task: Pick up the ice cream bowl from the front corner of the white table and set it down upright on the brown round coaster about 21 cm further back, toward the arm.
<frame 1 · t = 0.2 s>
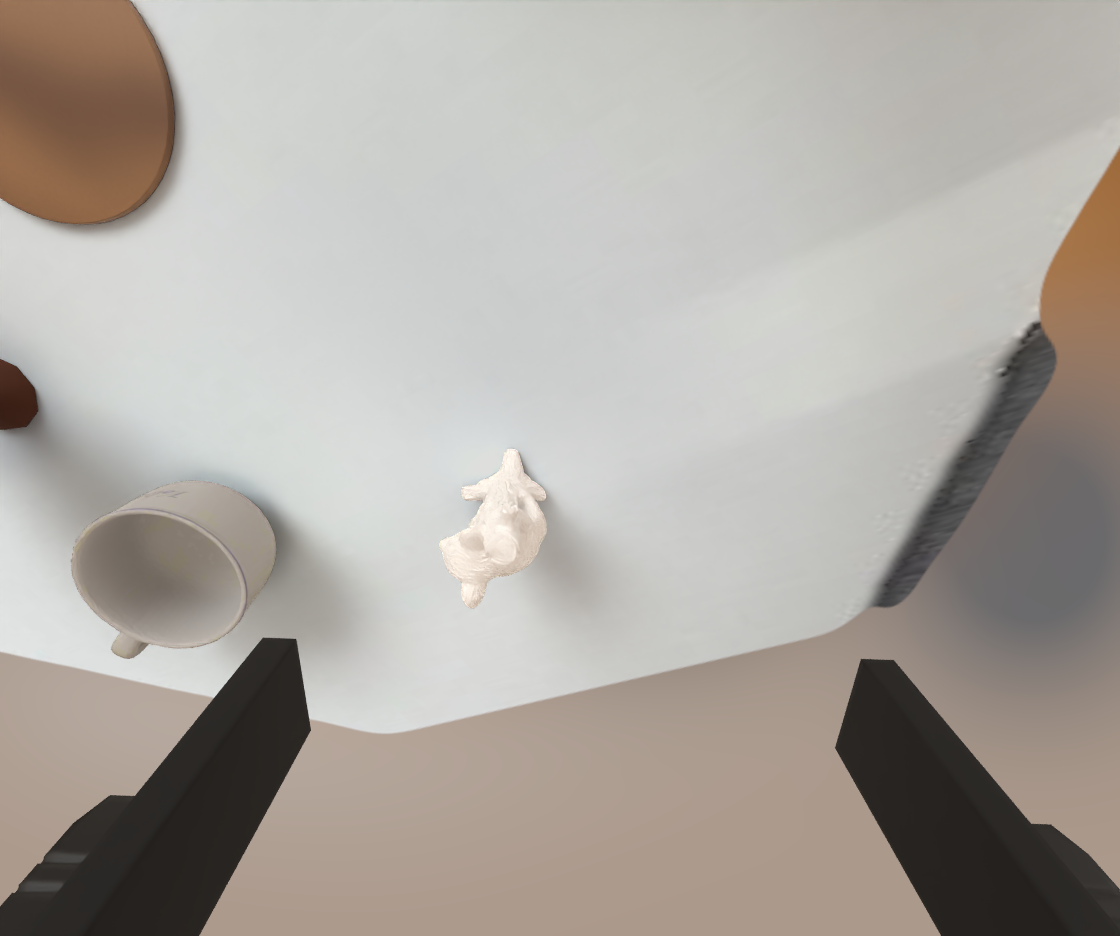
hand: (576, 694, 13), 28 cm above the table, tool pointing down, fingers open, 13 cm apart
brown round coaster: (46, 87, 32), on the table
teacup: (217, 540, 43), on the table
koala figurine: (509, 489, 41), on the table
ice cream bowl: (0, 392, 39), on the table
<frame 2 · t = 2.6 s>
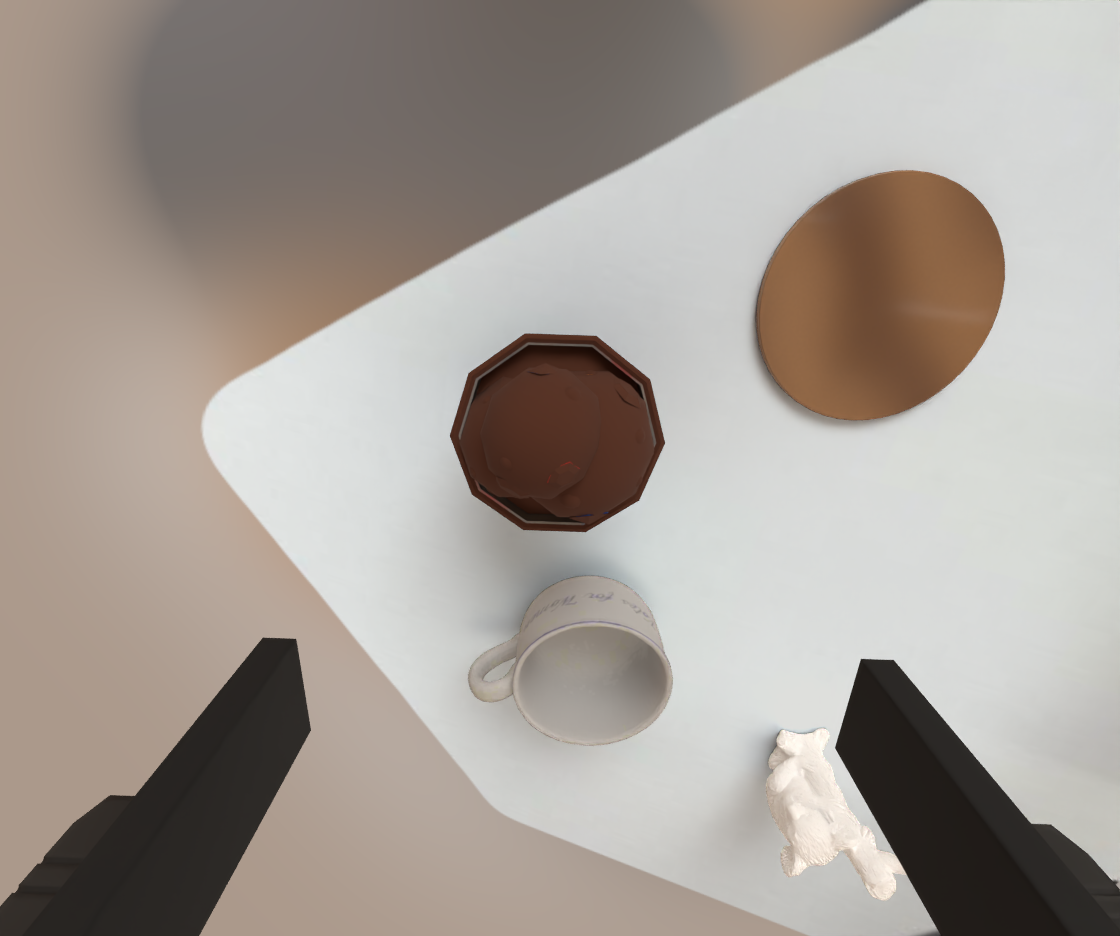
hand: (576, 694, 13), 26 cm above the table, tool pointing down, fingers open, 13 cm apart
brown round coaster: (874, 304, 34), on the table
teacup: (568, 614, 43), on the table
koala figurine: (790, 745, 48), on the table
ice cream bowl: (559, 397, 37), on the table
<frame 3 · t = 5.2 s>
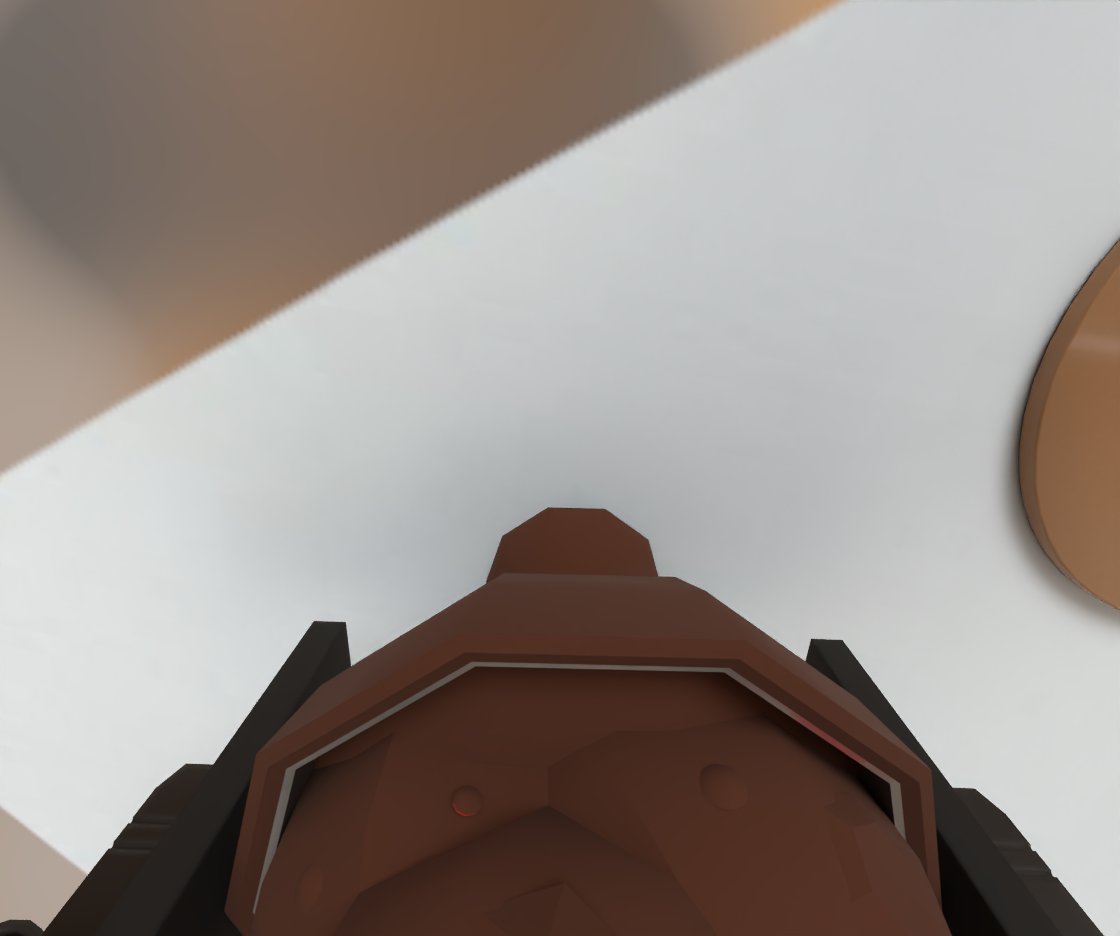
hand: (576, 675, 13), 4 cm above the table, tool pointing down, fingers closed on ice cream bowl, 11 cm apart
ice cream bowl: (573, 580, 17), on the table, touching gripper
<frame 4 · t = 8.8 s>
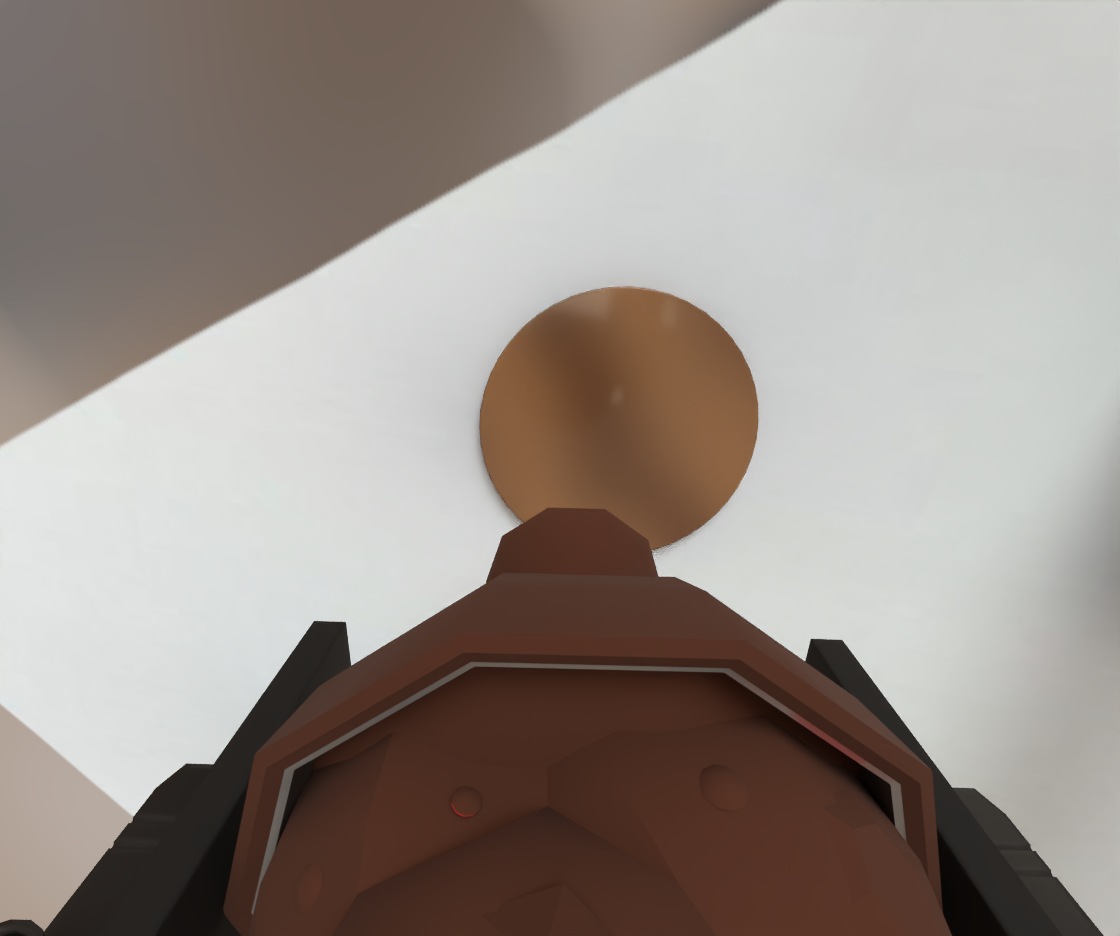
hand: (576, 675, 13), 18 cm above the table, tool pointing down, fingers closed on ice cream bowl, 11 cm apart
brown round coaster: (617, 430, 30), on the table
ice cream bowl: (573, 580, 17), point 13 cm above the table, touching gripper
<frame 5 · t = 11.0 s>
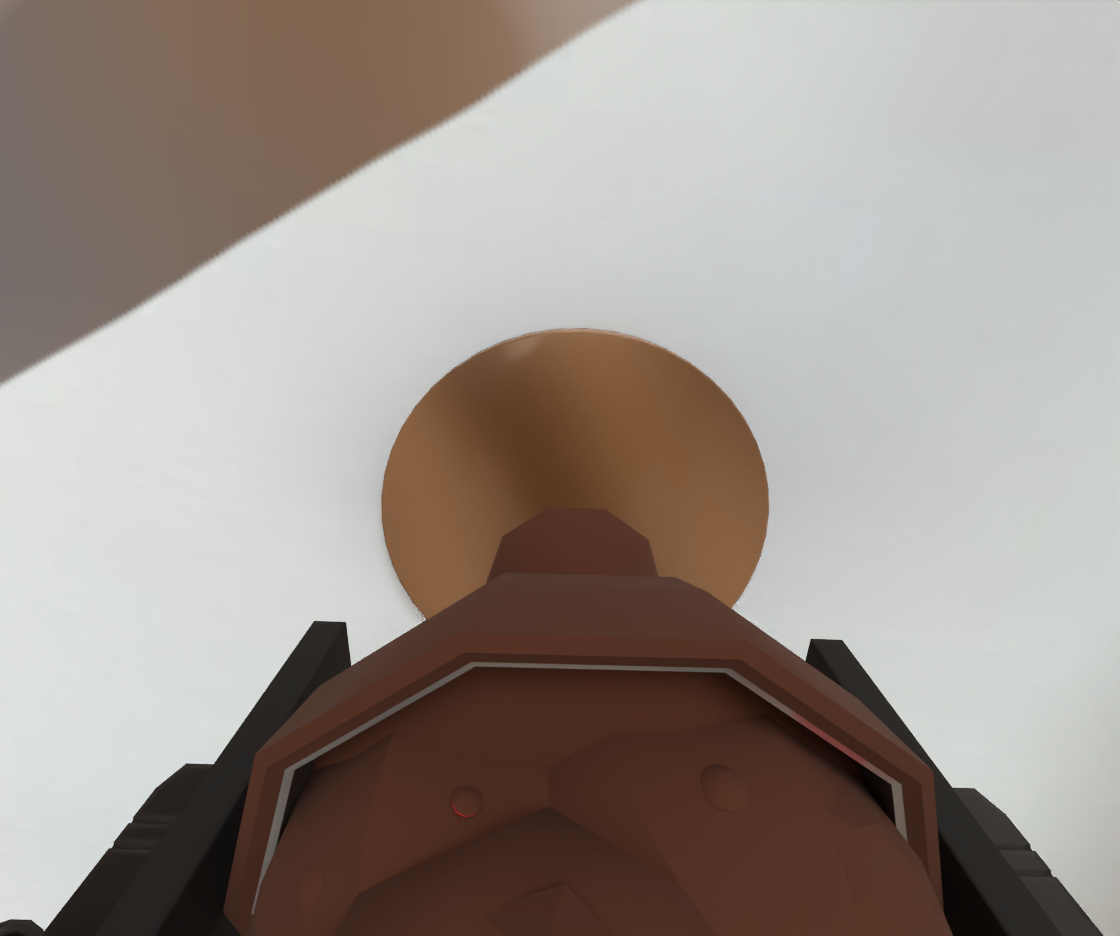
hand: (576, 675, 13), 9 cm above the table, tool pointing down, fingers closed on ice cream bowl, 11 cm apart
brown round coaster: (574, 520, 21), on the table
ice cream bowl: (573, 580, 17), point 4 cm above the table, touching gripper
when the fingers open (5 cm above the table, at t = 12.7 s): ice cream bowl stays where it is, resting on brown round coaster.
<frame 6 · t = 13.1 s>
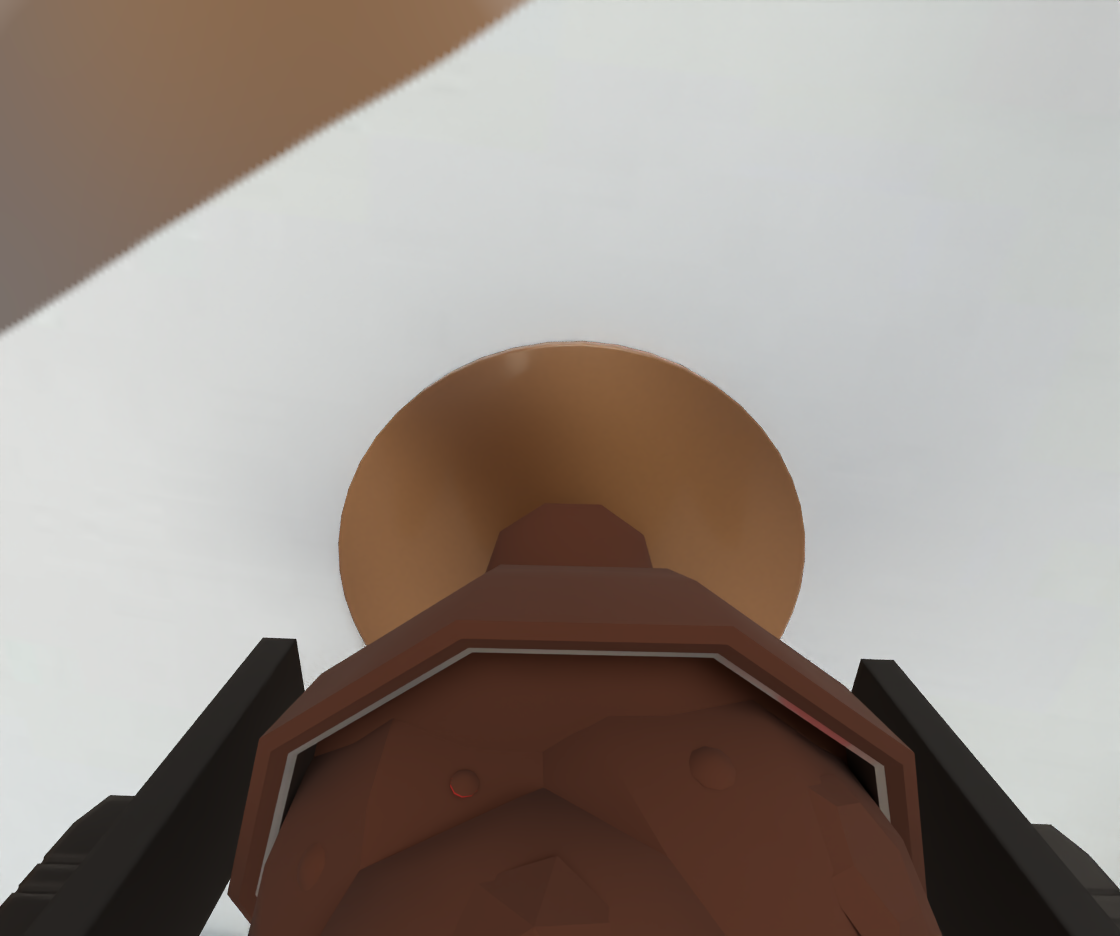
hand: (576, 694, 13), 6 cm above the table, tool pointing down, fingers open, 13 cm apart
brown round coaster: (570, 569, 18), on the table
ice cream bowl: (570, 575, 18), resting on brown round coaster
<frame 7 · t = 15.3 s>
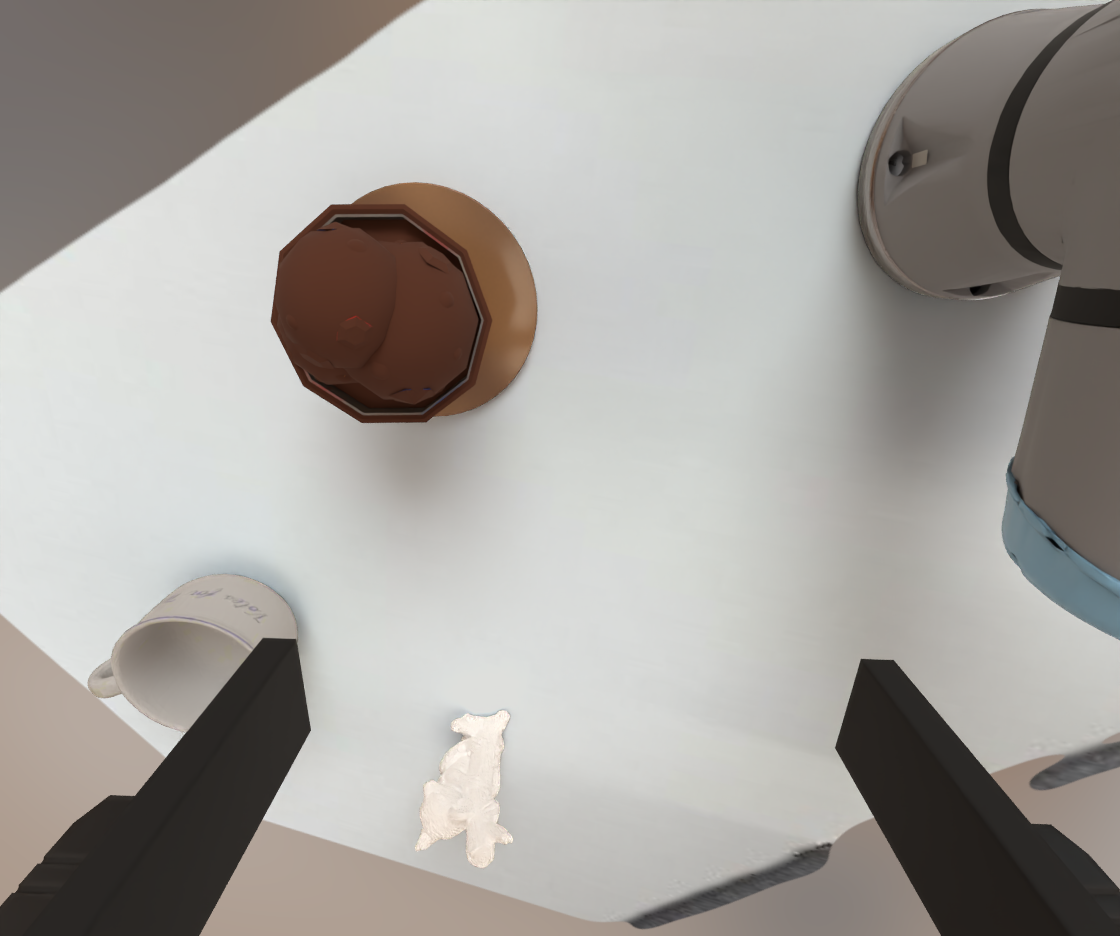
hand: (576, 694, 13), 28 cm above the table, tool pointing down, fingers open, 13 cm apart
brown round coaster: (426, 307, 36), on the table
teacup: (232, 612, 45), on the table
koala figurine: (481, 728, 50), on the table
ice cream bowl: (425, 307, 36), resting on brown round coaster
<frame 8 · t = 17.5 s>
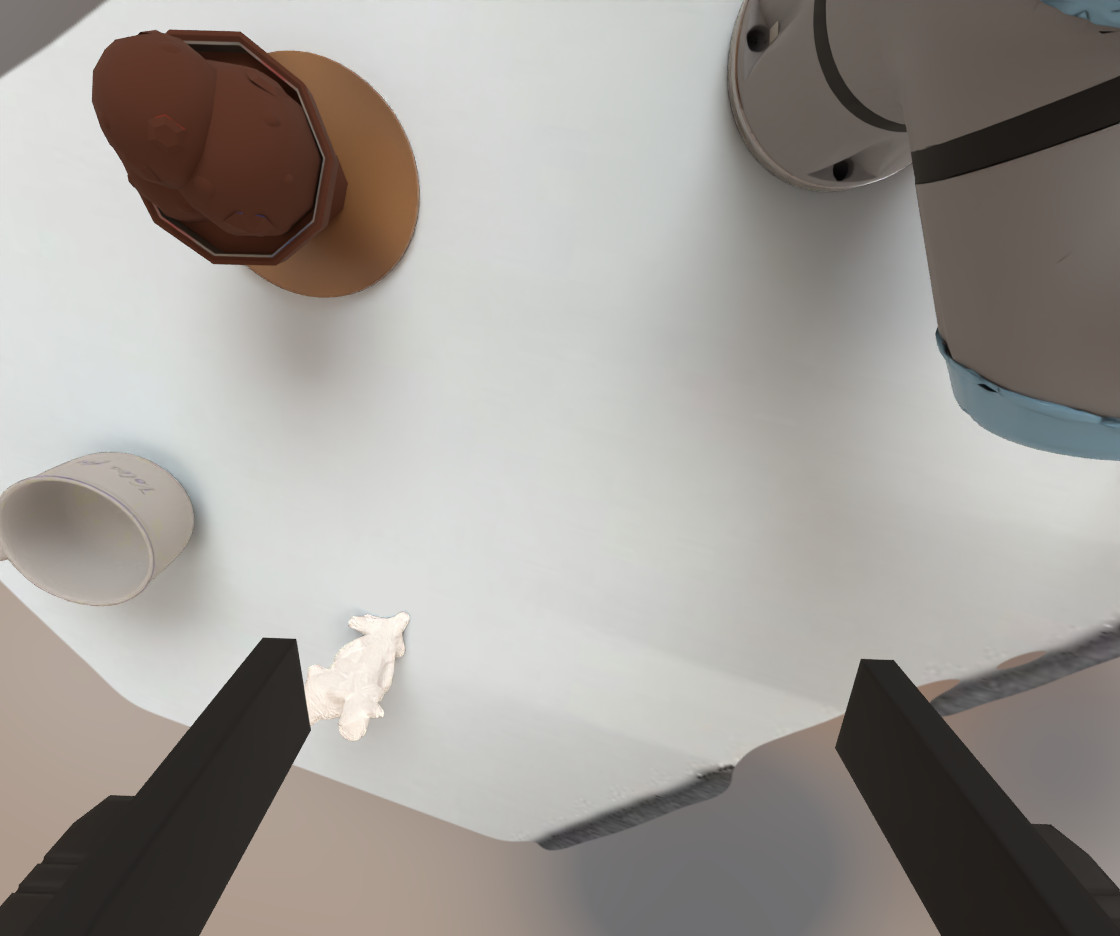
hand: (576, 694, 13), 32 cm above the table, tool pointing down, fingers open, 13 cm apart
brown round coaster: (311, 183, 37), on the table
teacup: (133, 499, 46), on the table
koala figurine: (383, 631, 51), on the table
ice cream bowl: (308, 182, 37), resting on brown round coaster
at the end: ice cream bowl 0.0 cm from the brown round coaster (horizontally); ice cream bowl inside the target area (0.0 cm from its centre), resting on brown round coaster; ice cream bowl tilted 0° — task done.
